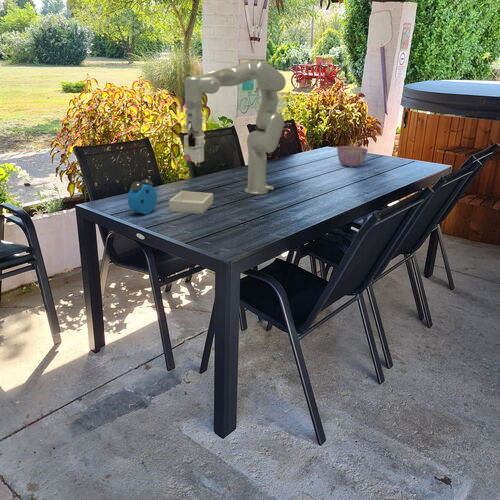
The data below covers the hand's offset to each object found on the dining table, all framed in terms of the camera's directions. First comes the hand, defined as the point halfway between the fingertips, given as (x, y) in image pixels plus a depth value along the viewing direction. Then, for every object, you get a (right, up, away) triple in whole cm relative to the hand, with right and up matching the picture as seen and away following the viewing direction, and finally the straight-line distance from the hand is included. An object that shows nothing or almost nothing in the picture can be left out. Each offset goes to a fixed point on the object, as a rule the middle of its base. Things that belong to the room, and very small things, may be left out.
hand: (193, 145), depth 233 cm
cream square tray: (-1, -29, +2) cm, 29 cm away
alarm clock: (-22, -33, -8) cm, 40 cm away
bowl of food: (+94, +7, +100) cm, 137 cm away
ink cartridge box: (0, -7, +3) cm, 8 cm away
